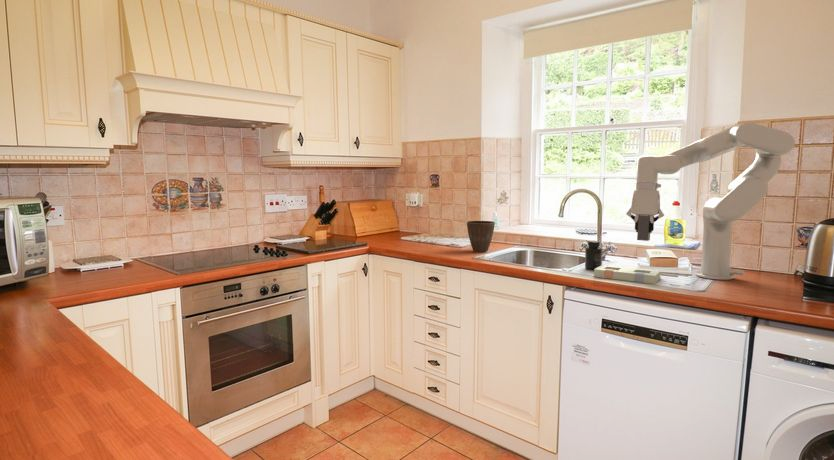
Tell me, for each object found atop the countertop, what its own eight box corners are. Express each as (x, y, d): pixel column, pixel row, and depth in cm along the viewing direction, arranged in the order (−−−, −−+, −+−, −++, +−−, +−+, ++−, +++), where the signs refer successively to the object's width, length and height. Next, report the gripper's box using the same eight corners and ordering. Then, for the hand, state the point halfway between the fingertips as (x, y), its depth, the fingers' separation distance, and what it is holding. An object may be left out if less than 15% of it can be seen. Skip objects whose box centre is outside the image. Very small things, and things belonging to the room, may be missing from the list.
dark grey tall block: (649, 239, 193) (651, 213, 192) (647, 240, 190) (649, 214, 189) (639, 239, 195) (640, 213, 194) (637, 240, 192) (638, 213, 191)
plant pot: (496, 253, 246) (496, 223, 244) (467, 253, 246) (467, 223, 245) (492, 249, 261) (492, 220, 259) (465, 249, 261) (465, 220, 260)
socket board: (660, 278, 185) (660, 270, 185) (654, 283, 175) (655, 275, 175) (602, 271, 198) (602, 264, 198) (593, 276, 188) (593, 268, 188)
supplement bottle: (601, 267, 207) (602, 240, 206) (601, 270, 201) (603, 242, 199) (584, 266, 209) (585, 240, 208) (584, 269, 203) (585, 242, 202)
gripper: (671, 187, 188) (668, 232, 190) (626, 186, 198) (624, 230, 200) (668, 187, 182) (665, 234, 184) (622, 186, 192) (619, 231, 194)
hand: (643, 231), depth 192 cm, fingers closed on dark grey tall block, 4 cm apart
